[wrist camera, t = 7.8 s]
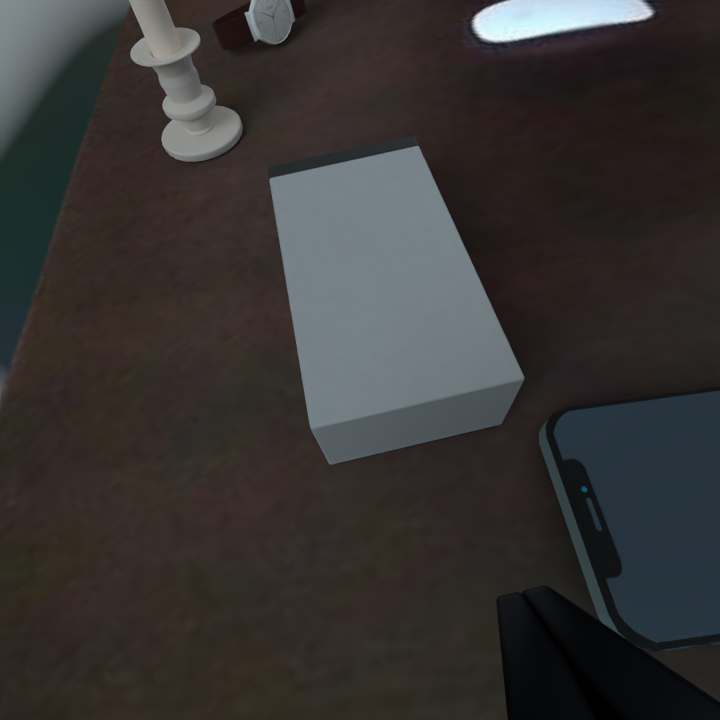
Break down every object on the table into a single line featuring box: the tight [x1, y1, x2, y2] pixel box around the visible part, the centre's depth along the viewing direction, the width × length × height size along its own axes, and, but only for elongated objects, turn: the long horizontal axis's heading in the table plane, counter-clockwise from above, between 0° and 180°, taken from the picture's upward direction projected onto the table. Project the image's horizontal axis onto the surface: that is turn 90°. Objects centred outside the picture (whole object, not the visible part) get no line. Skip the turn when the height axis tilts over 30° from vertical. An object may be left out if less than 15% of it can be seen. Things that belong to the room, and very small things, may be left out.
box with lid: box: [268, 136, 524, 465], centre depth 19 cm, size 4×7×13 cm
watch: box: [212, 0, 306, 50], centre depth 33 cm, size 8×5×4 cm, turn 131°
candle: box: [129, 0, 243, 162], centre depth 24 cm, size 5×5×10 cm
